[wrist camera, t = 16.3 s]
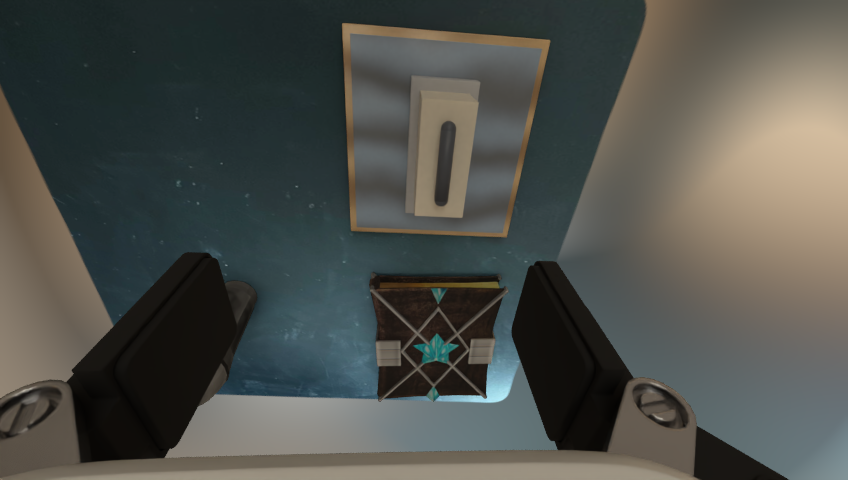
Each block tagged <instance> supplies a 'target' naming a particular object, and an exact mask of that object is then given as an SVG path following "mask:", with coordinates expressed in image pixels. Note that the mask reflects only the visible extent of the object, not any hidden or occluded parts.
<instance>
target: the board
mask: <svg viewBox="0 0 848 480" xmlns="http://www.w3.org/2000/svg"><path fill="white" fill-rule="evenodd" d="M342 36H343V59H344V82H345V105H346V128H347V150H348V173H349V196H350V219H351V231H366V232H391V233H415V234H440V235H464V236H488V237H507V233H508V229H509V224H510V220H511V215H512V211H513V206H514V202H515V197H516V193H517V188H518V184H519V179H520V175H521V170H522V166H523V161H524V157H525V152H526V148H527V143H528V139H529V134H530V130H531V126H532V121H533V117H534V112H535V108H536V103H537V99H538V94H539V90H540V85H541V81H542V76H543V72H544V67H545V63H546V58H547V54H548V49H549V45H550V40H544V39H532V38H520V37H507V36H495V35H483V34H471V33H459V32H447V31H435V30H422V29H410V28H398V27H386V26H374V25H362V24H350V23H342ZM412 75H416V76H429V77H443V78H457V79H470V80H478V81H479V82H480V89H479V96H478V102H479V104H478V111H477V118H476V125H475V132H474V139H473V146H472V153H471V161H470V168H469V175H468V182H467V189H466V196H465V203H464V210H463V217H462V218H453V217H431V216H415V215H414V213H405V201H406V179H407V158H408V136H409V115H410V93H411V76H412Z"/></svg>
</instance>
